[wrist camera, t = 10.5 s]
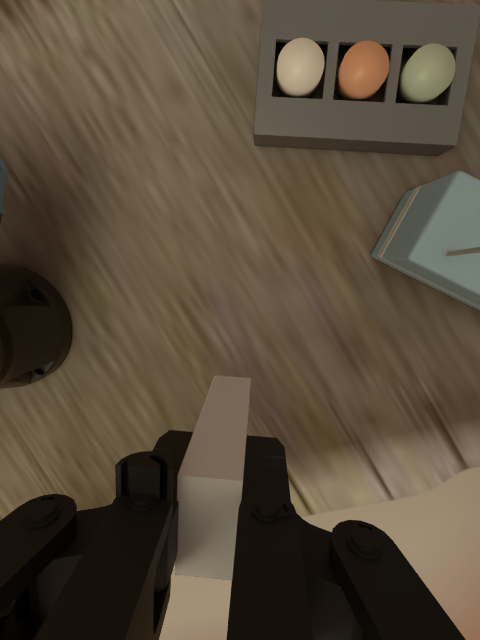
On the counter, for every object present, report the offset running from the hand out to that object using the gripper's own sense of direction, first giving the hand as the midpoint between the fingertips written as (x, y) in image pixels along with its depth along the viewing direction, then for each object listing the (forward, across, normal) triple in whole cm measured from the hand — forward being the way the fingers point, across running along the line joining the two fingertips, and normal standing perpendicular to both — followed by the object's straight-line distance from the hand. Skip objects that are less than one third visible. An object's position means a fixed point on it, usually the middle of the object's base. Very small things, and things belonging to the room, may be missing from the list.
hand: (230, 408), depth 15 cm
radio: (+30, +22, +8) cm, 38 cm away
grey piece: (+29, +9, +24) cm, 39 cm away
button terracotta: (+27, +9, +24) cm, 37 cm away
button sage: (+27, +15, +24) cm, 39 cm away
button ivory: (+27, +3, +24) cm, 36 cm away
